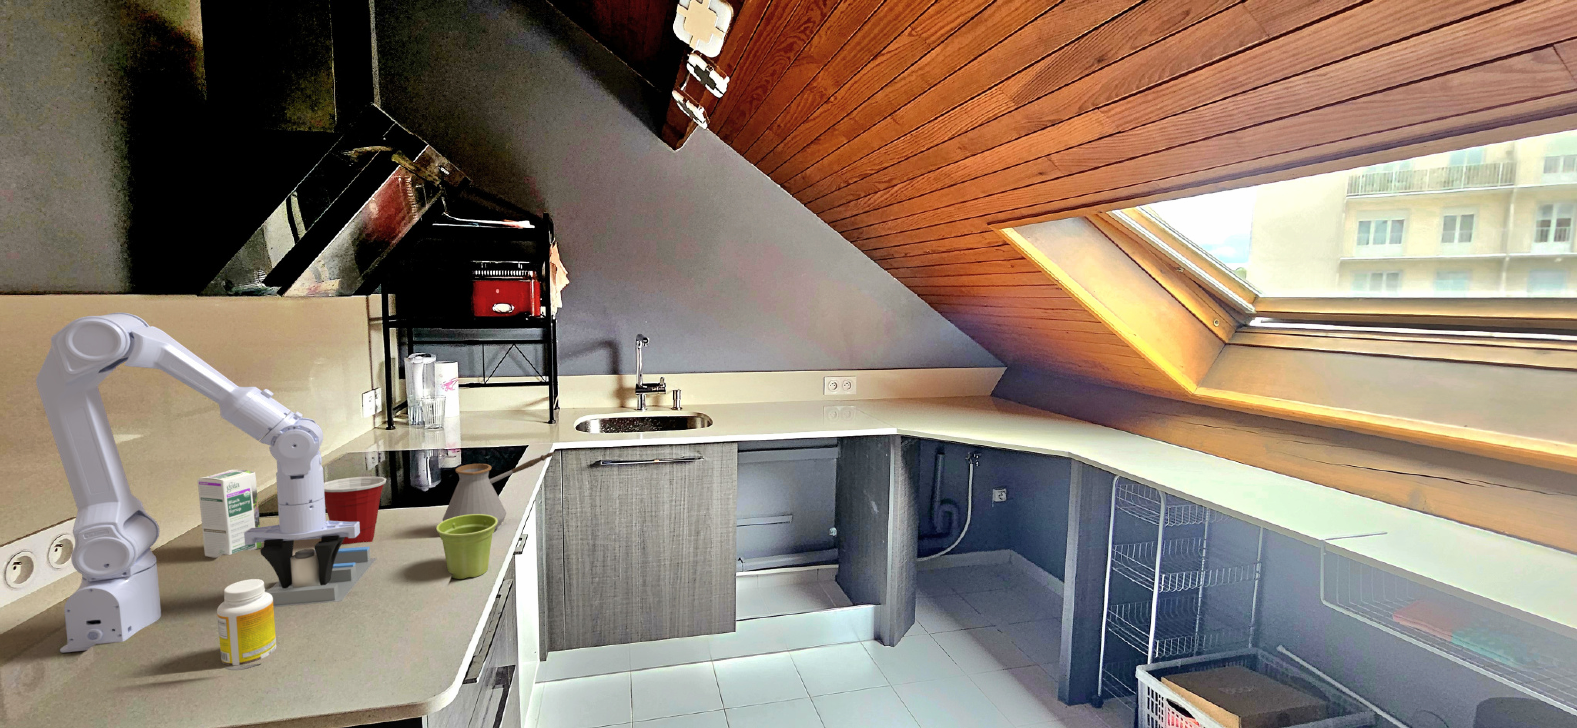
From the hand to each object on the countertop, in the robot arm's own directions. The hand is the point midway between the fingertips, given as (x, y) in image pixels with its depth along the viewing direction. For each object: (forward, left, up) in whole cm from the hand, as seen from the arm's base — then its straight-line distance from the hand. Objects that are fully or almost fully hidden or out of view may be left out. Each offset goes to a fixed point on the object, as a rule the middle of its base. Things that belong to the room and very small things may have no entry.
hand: (306, 583), depth 101 cm
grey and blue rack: (+4, 0, -2) cm, 5 cm away
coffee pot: (+26, -24, -3) cm, 36 cm away
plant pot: (+5, -22, -3) cm, 23 cm away
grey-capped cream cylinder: (0, 0, -1) cm, 1 cm away
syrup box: (+22, +20, -3) cm, 30 cm away
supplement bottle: (-17, 0, -3) cm, 17 cm away
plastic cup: (+23, +1, -3) cm, 23 cm away
